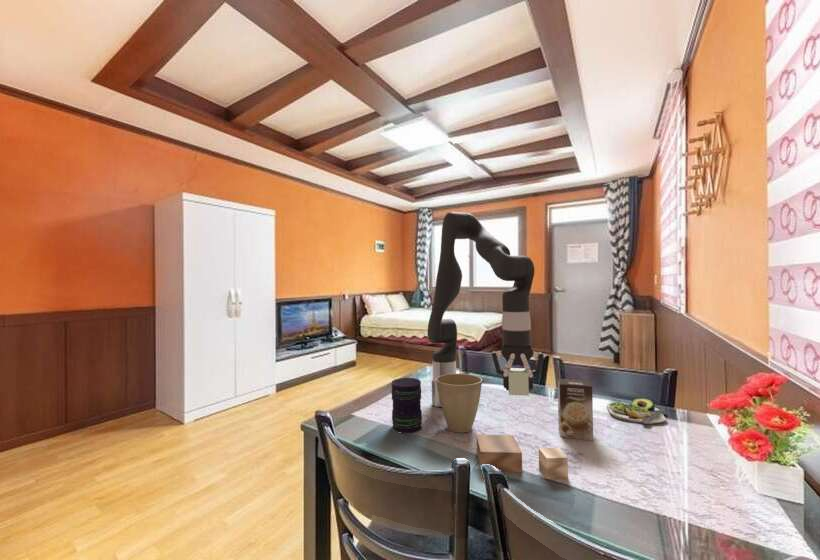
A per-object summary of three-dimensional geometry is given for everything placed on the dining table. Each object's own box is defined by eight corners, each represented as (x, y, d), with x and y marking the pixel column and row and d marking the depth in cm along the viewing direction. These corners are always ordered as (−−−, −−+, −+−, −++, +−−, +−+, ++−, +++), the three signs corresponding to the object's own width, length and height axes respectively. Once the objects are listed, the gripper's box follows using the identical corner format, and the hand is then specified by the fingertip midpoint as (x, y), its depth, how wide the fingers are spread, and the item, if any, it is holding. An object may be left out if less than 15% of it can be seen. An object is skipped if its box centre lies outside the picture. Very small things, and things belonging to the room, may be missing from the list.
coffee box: (560, 437, 102) (558, 383, 102) (558, 428, 108) (556, 378, 108) (594, 441, 99) (592, 386, 99) (590, 432, 105) (588, 380, 105)
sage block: (509, 394, 91) (508, 372, 91) (508, 389, 96) (507, 367, 96) (528, 395, 90) (528, 372, 90) (526, 390, 94) (526, 368, 95)
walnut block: (481, 472, 84) (480, 451, 84) (476, 452, 94) (476, 434, 94) (522, 473, 83) (521, 452, 83) (513, 453, 93) (513, 435, 93)
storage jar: (426, 424, 114) (425, 379, 114) (414, 435, 105) (413, 387, 105) (400, 419, 118) (399, 376, 118) (386, 430, 109) (385, 384, 109)
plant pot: (492, 427, 110) (491, 378, 110) (464, 442, 100) (463, 388, 100) (455, 415, 121) (454, 370, 121) (427, 428, 110) (426, 379, 111)
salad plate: (676, 432, 104) (676, 417, 104) (609, 423, 112) (609, 409, 112) (663, 411, 121) (662, 398, 122) (606, 404, 130) (605, 392, 130)
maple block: (547, 479, 80) (546, 458, 80) (539, 468, 85) (538, 448, 85) (568, 478, 80) (567, 457, 80) (558, 467, 85) (558, 447, 85)
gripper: (489, 329, 91) (491, 393, 90) (546, 329, 88) (548, 395, 87) (489, 326, 98) (490, 385, 98) (541, 326, 95) (543, 387, 95)
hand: (518, 389), depth 93 cm, fingers closed on sage block, 5 cm apart
